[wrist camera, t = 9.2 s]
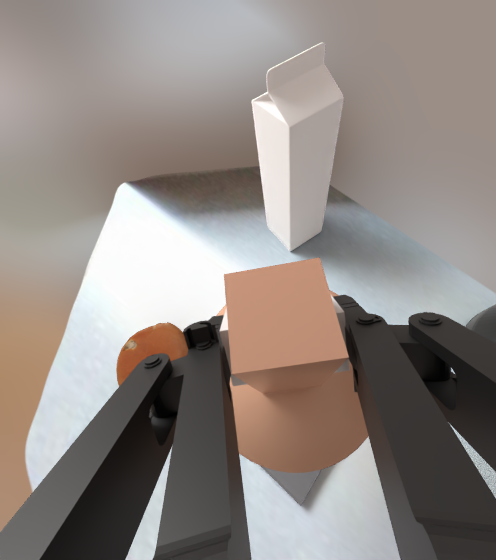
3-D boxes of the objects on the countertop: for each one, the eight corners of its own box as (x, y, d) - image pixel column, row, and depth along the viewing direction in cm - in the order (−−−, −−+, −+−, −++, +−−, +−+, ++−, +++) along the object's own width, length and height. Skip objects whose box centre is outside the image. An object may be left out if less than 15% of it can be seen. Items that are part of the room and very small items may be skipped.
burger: (184, 419, 30) (167, 420, 26) (118, 397, 32) (92, 394, 28) (211, 337, 34) (200, 326, 30) (150, 323, 36) (132, 311, 32)
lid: (410, 457, 14) (612, 531, 5) (207, 478, 15) (81, 573, 6) (348, 275, 20) (393, 159, 11) (201, 300, 21) (131, 213, 12)
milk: (321, 231, 39) (354, 51, 19) (289, 252, 38) (290, 85, 19) (296, 208, 42) (303, 30, 22) (266, 227, 41) (245, 59, 21)
